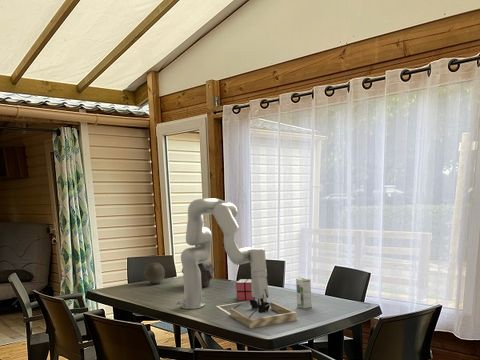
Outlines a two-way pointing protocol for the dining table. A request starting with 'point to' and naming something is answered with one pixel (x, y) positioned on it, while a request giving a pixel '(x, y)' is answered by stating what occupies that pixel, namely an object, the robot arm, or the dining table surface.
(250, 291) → the puzzle cube
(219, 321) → the dining table surface
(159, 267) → the cantaloupe
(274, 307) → the shallow wooden tray
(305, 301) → the syrup box
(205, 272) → the vessel
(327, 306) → the dining table surface
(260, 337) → the dining table surface
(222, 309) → the cream outline
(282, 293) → the dining table surface
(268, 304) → the sunglasses
